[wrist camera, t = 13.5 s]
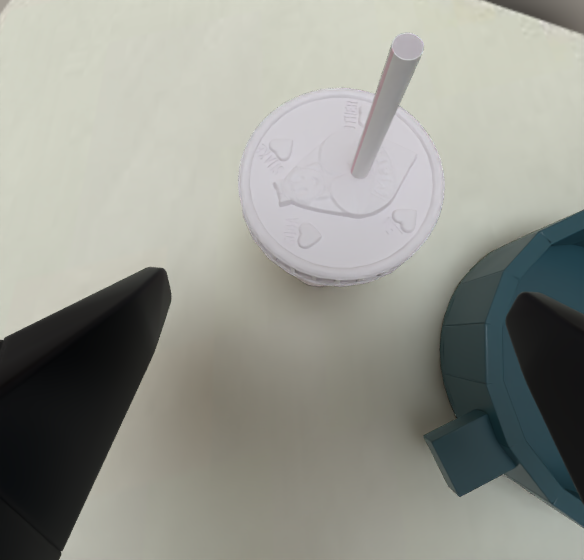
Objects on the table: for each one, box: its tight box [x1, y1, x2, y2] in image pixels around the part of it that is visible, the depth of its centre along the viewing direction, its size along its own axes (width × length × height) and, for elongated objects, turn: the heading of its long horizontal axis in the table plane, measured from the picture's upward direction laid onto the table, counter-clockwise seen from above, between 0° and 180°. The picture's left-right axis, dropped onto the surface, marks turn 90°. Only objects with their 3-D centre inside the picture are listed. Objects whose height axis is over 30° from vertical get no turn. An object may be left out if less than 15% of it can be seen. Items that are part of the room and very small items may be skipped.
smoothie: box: [238, 33, 445, 287], centre depth 12 cm, size 6×6×14 cm
